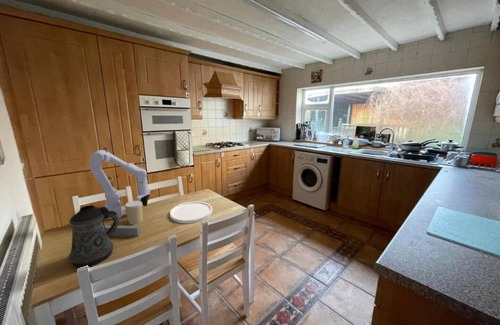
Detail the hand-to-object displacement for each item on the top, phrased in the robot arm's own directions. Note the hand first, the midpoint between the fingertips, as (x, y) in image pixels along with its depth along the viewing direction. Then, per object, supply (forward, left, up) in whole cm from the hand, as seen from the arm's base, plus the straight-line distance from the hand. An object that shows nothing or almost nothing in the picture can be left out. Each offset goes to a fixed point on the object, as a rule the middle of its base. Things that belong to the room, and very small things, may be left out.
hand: (145, 205), depth 139 cm
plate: (+32, -1, -5) cm, 32 cm away
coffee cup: (0, -13, -5) cm, 14 cm away
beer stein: (-2, -44, -5) cm, 44 cm away
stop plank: (0, -28, -4) cm, 28 cm away
